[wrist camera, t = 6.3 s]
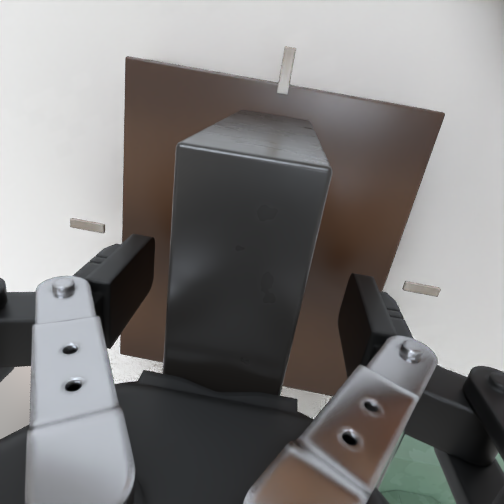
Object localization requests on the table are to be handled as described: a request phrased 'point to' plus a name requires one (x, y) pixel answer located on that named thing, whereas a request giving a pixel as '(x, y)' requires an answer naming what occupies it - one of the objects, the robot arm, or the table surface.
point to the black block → (242, 249)
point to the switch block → (417, 476)
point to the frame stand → (336, 206)
